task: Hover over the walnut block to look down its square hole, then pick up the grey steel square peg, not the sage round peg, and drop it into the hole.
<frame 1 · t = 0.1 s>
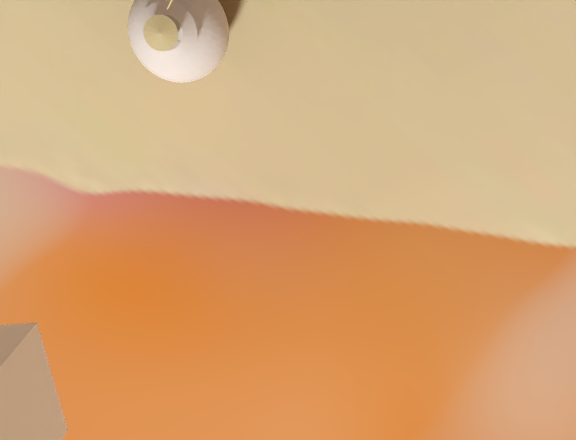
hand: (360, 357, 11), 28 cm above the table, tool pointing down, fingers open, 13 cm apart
ornament: (193, 21, 35), on the table
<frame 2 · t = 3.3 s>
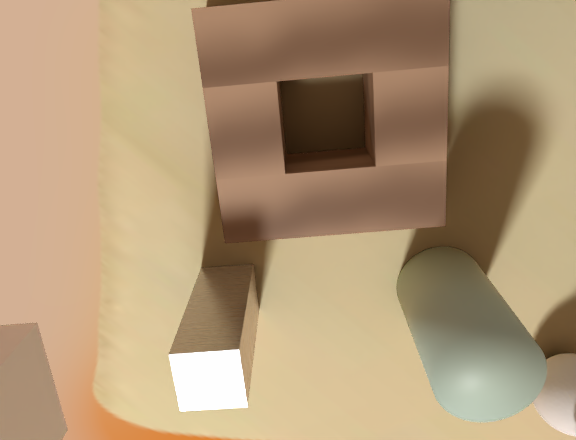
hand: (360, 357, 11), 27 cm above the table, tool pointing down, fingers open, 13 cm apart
ornament: (560, 361, 43), on the table
square peg: (230, 289, 40), on the table
round peg: (439, 285, 40), on the table
socket block: (323, 111, 35), on the table
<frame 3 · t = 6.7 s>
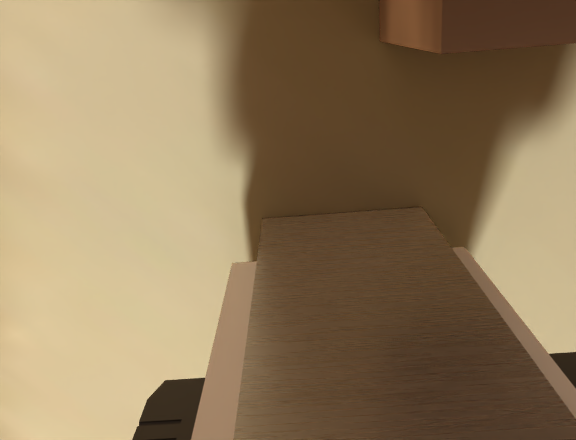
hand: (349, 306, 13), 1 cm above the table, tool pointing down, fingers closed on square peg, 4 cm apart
square peg: (344, 283, 14), on the table, touching gripper
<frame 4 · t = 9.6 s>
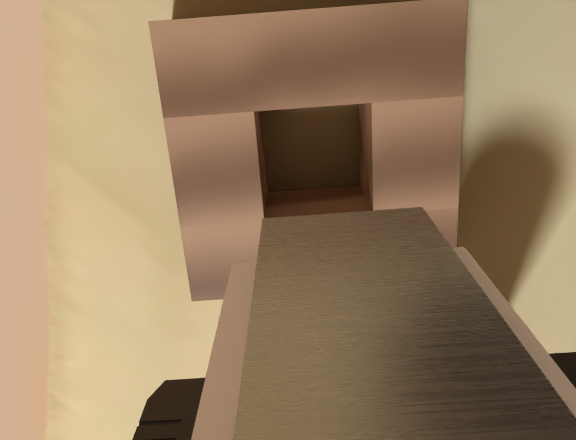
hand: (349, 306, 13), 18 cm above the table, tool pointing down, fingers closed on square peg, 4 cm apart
square peg: (345, 283, 14), point 17 cm above the table, touching gripper
socket block: (310, 142, 30), on the table
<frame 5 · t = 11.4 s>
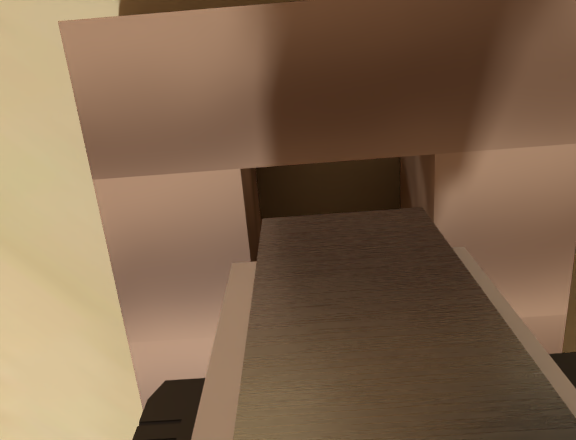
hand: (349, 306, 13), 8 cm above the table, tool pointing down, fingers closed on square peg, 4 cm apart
square peg: (345, 284, 14), point 7 cm above the table, touching gripper
socket block: (329, 197, 20), on the table
when the fingers open (7 cm above the table, at t = 12.8 s): square peg drops 6 cm, resting in socket block.
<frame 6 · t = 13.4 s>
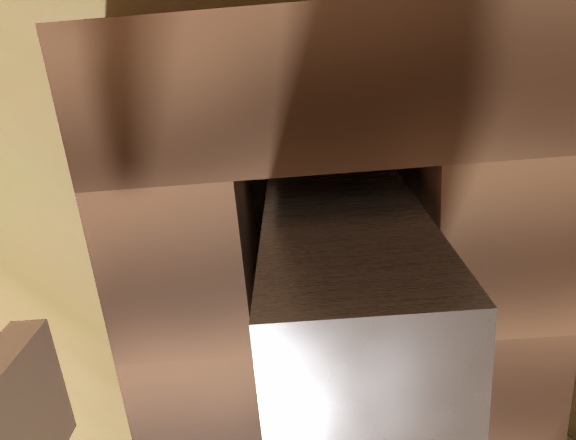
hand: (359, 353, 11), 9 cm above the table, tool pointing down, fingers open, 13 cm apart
square peg: (328, 207, 19), resting in socket block
socket block: (328, 208, 19), on the table
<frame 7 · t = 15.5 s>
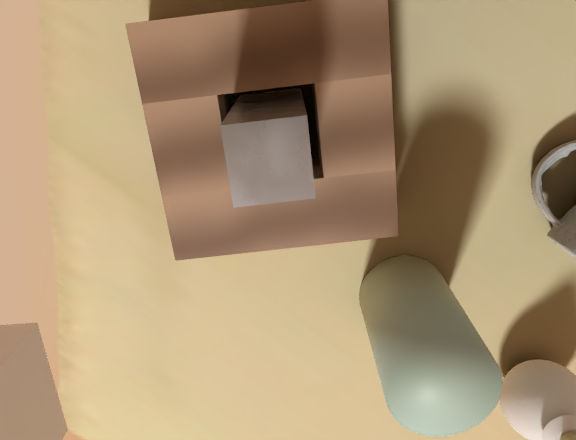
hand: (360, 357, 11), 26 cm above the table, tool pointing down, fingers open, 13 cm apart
ornament: (530, 367, 42), on the table
square peg: (273, 122, 35), resting in socket block
round peg: (402, 294, 39), on the table
socket block: (273, 122, 35), on the table
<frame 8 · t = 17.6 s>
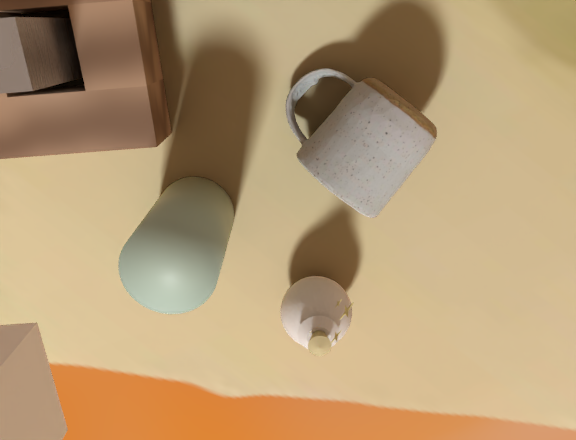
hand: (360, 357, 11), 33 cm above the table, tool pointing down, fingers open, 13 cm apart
ornament: (318, 287, 47), on the table
square peg: (66, 48, 40), resting in socket block
round peg: (196, 213, 44), on the table
socket block: (66, 48, 40), on the table
ceramic mug: (346, 128, 42), on the table
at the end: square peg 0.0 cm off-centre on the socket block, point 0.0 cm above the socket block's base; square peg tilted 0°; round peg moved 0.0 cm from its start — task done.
